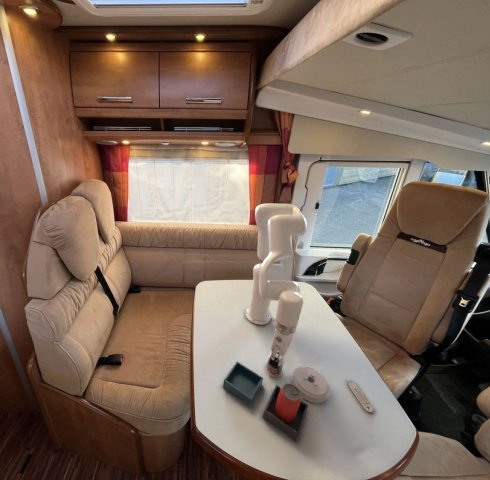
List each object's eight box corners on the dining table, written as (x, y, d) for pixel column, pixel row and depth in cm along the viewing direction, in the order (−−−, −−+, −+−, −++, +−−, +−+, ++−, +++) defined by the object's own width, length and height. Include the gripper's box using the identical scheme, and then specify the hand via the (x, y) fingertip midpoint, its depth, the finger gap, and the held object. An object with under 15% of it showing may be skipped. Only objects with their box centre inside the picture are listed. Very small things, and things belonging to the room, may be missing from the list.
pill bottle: (263, 371, 95) (267, 354, 91) (270, 361, 99) (273, 345, 95) (277, 380, 92) (281, 363, 87) (283, 370, 95) (287, 353, 91)
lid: (283, 377, 93) (286, 369, 91) (308, 367, 97) (311, 359, 95) (308, 409, 82) (311, 401, 80) (334, 397, 86) (338, 388, 84)
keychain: (375, 411, 81) (367, 411, 81) (374, 412, 82) (366, 412, 81) (354, 381, 91) (347, 382, 91) (354, 382, 91) (346, 383, 91)
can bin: (274, 391, 88) (276, 384, 86) (305, 411, 82) (308, 404, 80) (262, 417, 80) (264, 410, 78) (296, 442, 74) (299, 435, 72)
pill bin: (236, 367, 96) (236, 361, 94) (261, 384, 90) (263, 377, 88) (223, 386, 89) (223, 380, 87) (250, 406, 83) (251, 399, 81)
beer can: (296, 426, 77) (304, 404, 72) (275, 421, 78) (282, 400, 73) (292, 405, 83) (300, 384, 78) (273, 401, 84) (279, 380, 79)
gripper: (288, 344, 76) (279, 379, 83) (303, 315, 88) (294, 347, 95) (266, 332, 80) (259, 367, 87) (283, 306, 92) (276, 338, 99)
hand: (277, 357), depth 91 cm, fingers open, 9 cm apart
